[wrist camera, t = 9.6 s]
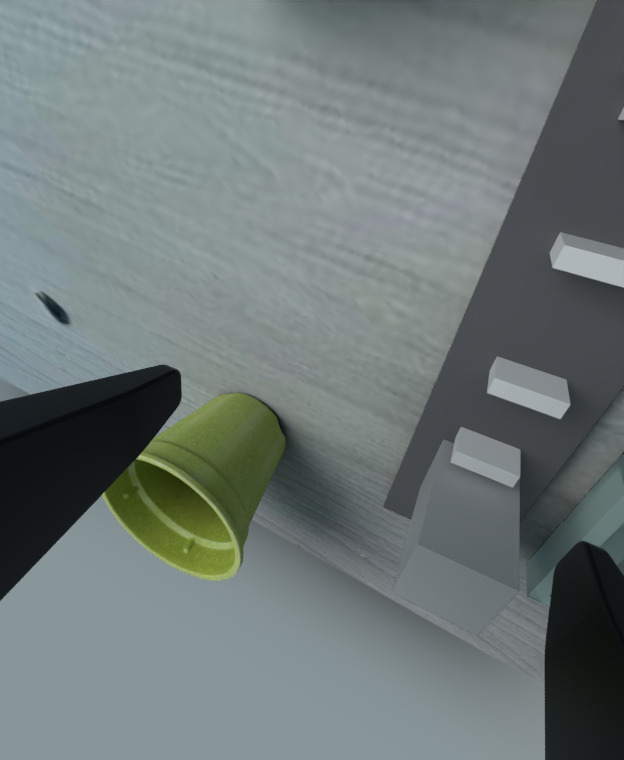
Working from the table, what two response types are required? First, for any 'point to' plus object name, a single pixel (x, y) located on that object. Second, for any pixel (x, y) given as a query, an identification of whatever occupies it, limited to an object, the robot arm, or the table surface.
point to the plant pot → (201, 485)
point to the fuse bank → (524, 351)
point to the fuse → (621, 566)
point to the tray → (583, 531)
